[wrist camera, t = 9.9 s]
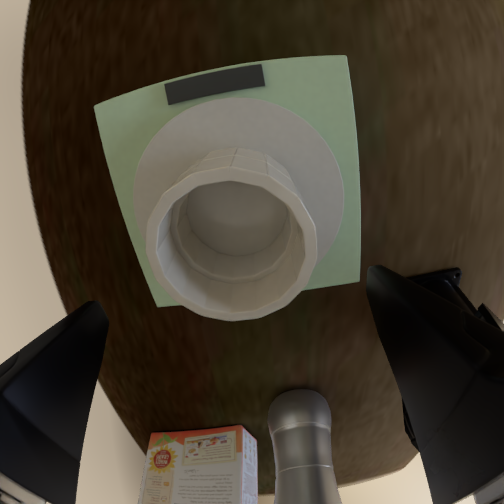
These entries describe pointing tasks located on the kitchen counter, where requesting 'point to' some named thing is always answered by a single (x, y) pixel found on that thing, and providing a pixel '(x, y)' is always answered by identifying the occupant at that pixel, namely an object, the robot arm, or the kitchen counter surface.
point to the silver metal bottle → (302, 448)
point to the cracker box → (201, 467)
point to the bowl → (232, 236)
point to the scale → (244, 146)
